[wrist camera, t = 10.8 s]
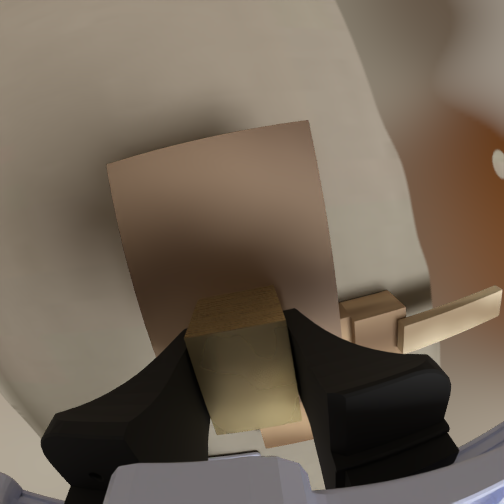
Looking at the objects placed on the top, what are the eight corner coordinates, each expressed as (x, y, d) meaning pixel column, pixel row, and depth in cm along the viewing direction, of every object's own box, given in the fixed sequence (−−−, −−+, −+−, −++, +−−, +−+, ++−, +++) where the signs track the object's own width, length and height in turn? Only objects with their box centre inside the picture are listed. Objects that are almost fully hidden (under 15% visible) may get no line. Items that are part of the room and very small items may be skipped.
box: (384, 399, 26) (397, 420, 23) (263, 430, 26) (266, 455, 23) (387, 290, 23) (406, 306, 20) (235, 325, 23) (235, 347, 20)
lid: (341, 382, 14) (369, 438, 10) (183, 410, 14) (169, 471, 10) (304, 124, 12) (334, 94, 8) (113, 165, 12) (61, 157, 8)
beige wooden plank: (491, 310, 21) (498, 315, 20) (397, 347, 21) (403, 354, 20) (494, 285, 20) (502, 289, 19) (398, 320, 20) (404, 326, 19)
